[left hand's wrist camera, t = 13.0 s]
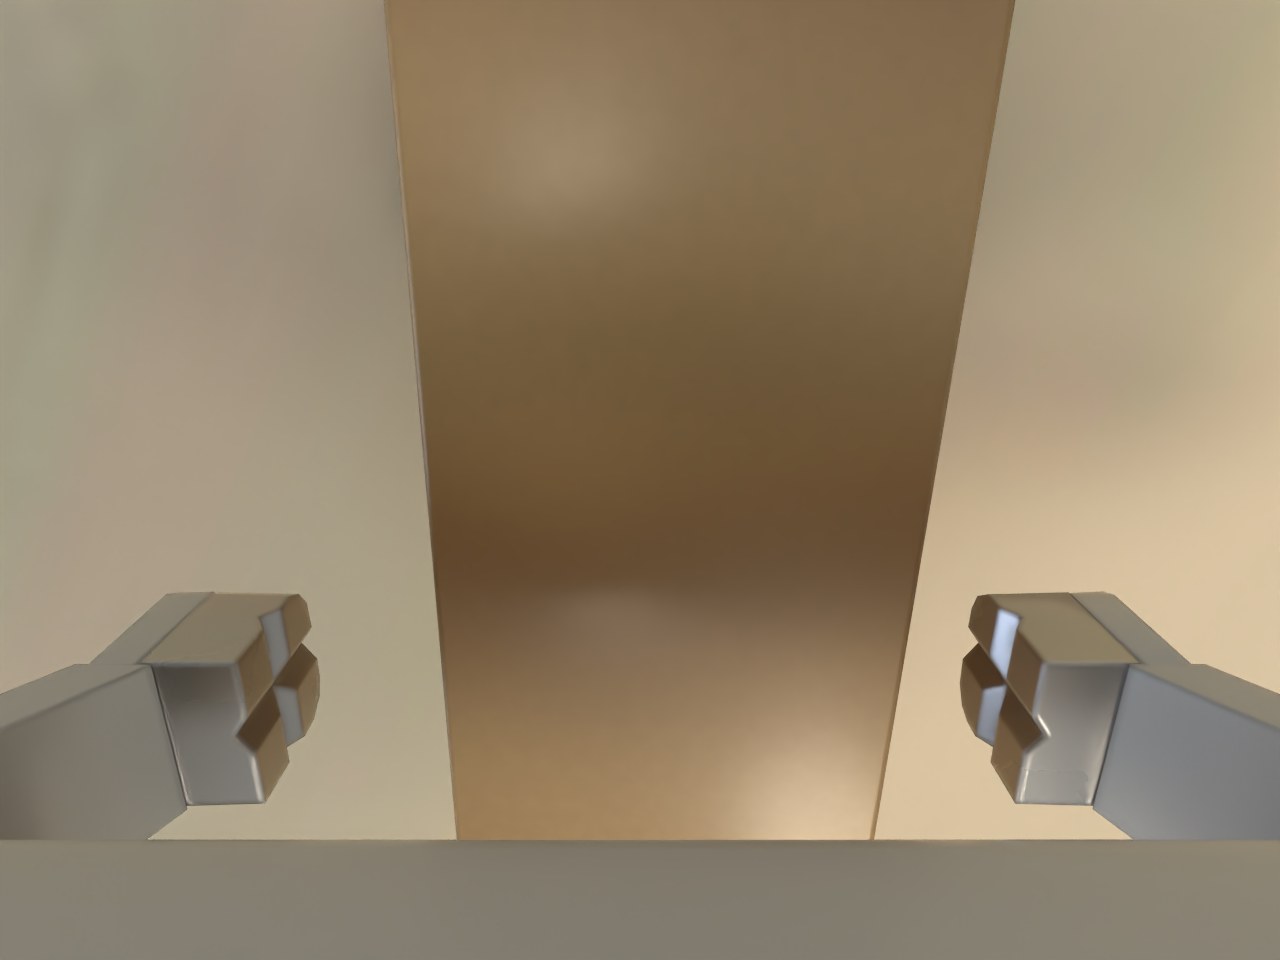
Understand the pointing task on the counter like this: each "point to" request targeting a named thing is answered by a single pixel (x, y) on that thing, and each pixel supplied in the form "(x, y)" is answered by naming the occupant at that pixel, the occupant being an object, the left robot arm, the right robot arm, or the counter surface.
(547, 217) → the bar
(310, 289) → the counter surface
